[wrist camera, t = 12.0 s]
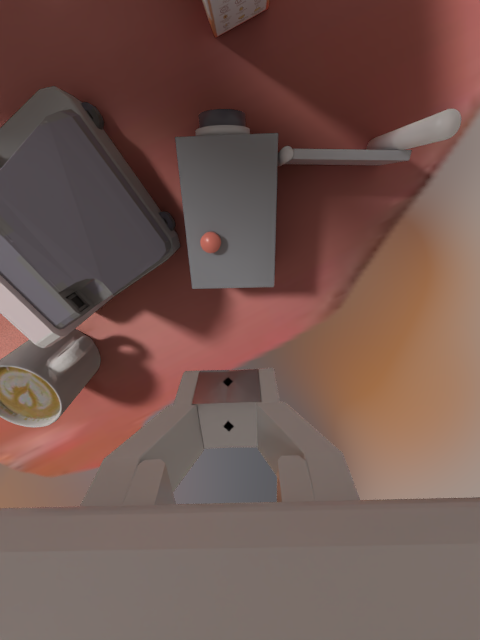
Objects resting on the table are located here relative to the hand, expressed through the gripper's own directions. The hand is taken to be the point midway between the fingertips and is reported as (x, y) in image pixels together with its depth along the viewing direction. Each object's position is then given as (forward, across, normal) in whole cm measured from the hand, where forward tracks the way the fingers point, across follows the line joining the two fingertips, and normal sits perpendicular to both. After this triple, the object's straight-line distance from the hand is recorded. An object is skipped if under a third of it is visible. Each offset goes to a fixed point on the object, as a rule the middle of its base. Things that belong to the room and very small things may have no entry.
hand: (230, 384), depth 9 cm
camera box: (+28, 0, -4) cm, 28 cm away
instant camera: (+29, +19, -3) cm, 34 cm away
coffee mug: (+28, +26, +16) cm, 41 cm away
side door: (+28, -10, -9) cm, 31 cm away
